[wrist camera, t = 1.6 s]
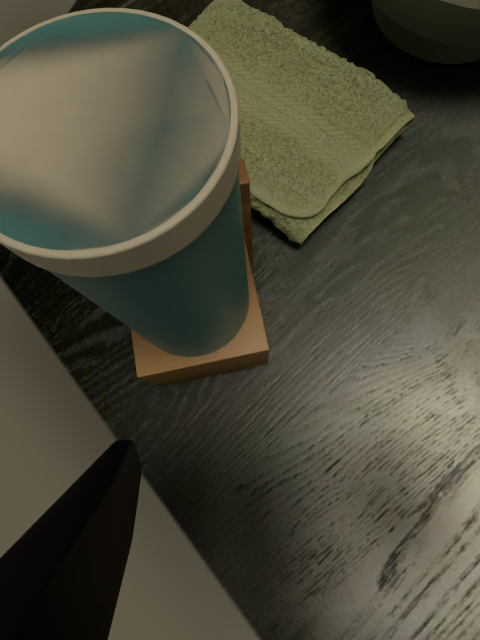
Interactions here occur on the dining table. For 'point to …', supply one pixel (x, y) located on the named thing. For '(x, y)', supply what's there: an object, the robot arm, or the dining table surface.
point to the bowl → (432, 28)
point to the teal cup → (127, 172)
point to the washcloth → (299, 115)
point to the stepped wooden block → (235, 355)
